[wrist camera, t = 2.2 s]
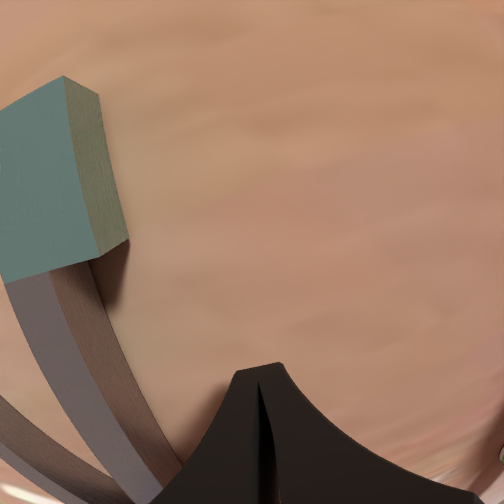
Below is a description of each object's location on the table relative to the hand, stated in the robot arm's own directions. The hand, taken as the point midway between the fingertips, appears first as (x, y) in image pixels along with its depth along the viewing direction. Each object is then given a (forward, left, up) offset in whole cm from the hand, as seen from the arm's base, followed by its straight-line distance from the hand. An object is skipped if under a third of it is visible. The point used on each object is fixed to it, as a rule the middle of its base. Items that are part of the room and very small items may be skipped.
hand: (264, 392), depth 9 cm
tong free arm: (-4, +3, -3) cm, 6 cm away
